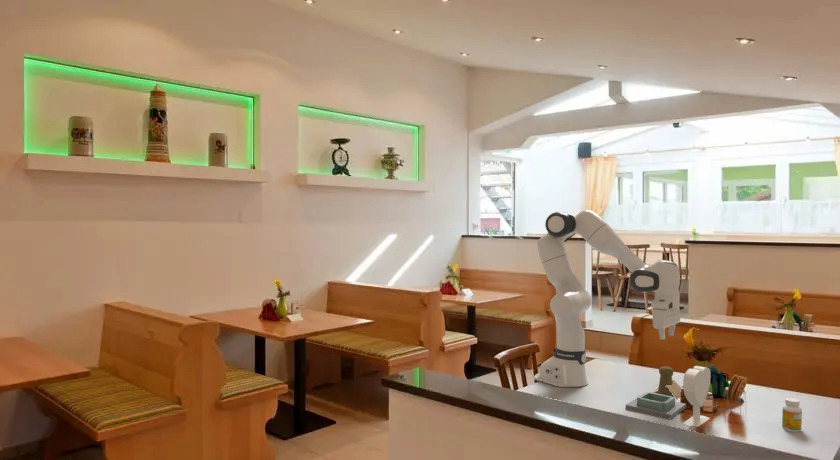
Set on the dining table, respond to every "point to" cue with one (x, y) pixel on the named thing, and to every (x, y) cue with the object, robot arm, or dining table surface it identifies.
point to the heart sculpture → (696, 392)
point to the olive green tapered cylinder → (665, 380)
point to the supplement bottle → (792, 415)
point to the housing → (656, 405)
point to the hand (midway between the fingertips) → (666, 337)
